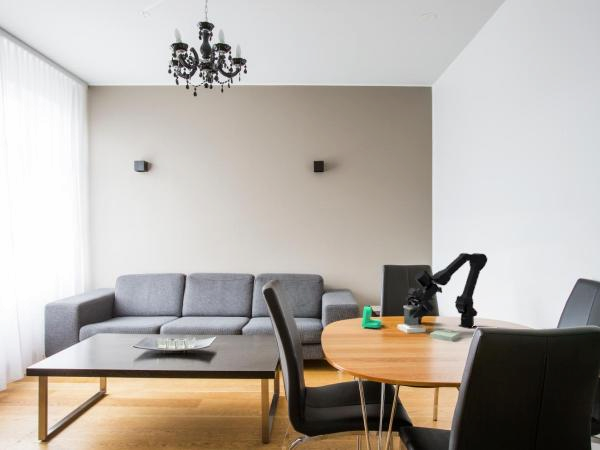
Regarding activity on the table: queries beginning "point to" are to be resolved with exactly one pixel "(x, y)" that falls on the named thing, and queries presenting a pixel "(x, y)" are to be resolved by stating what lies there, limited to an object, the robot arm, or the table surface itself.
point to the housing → (410, 316)
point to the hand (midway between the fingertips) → (408, 315)
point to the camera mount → (367, 321)
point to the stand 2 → (445, 335)
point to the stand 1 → (411, 329)
